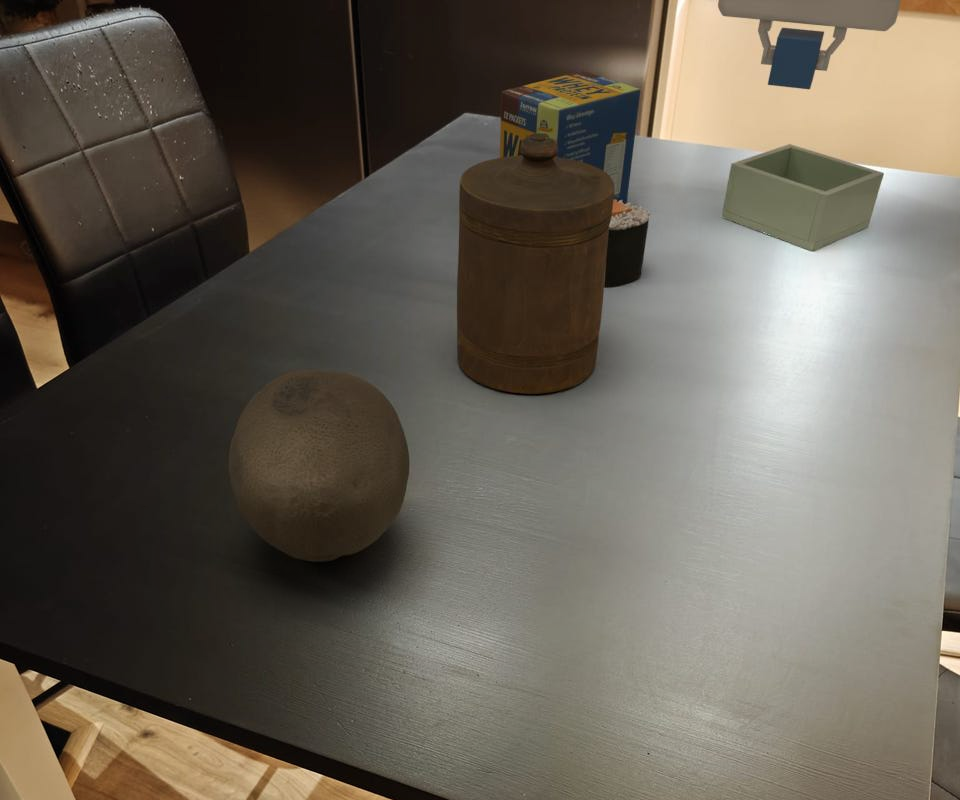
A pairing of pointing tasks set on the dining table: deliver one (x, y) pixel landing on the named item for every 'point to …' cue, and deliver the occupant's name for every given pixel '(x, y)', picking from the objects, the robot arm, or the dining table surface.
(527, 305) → the wooden container
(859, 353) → the dining table surface
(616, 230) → the sushi
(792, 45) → the block
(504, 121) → the protein box
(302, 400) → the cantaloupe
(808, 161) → the green storage bin
